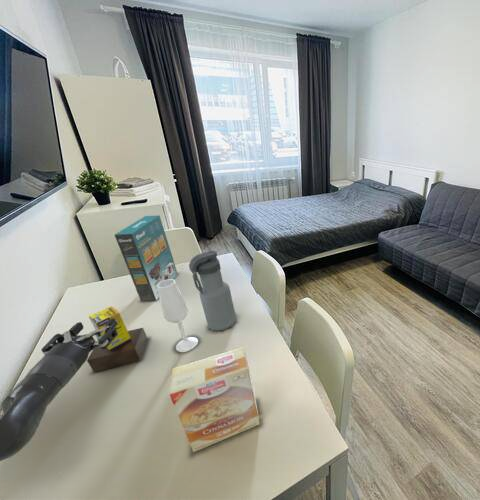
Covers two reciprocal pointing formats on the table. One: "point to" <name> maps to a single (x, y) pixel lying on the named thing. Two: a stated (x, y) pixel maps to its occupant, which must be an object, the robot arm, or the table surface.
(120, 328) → the supplement box
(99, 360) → the block
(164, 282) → the champagne flute
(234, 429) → the coffeecake box
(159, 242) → the cake mix box
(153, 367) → the table surface
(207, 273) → the water bottle
